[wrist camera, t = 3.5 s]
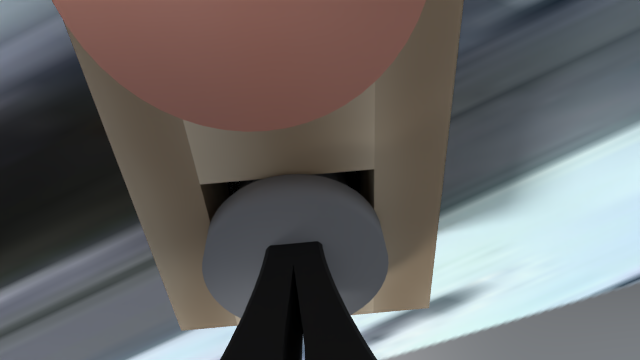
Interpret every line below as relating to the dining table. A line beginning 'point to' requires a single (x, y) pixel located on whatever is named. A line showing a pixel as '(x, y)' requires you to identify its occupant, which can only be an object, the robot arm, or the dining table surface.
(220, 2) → the brick plug
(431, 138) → the socket block
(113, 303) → the dining table surface
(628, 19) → the dining table surface
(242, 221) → the grey plug
